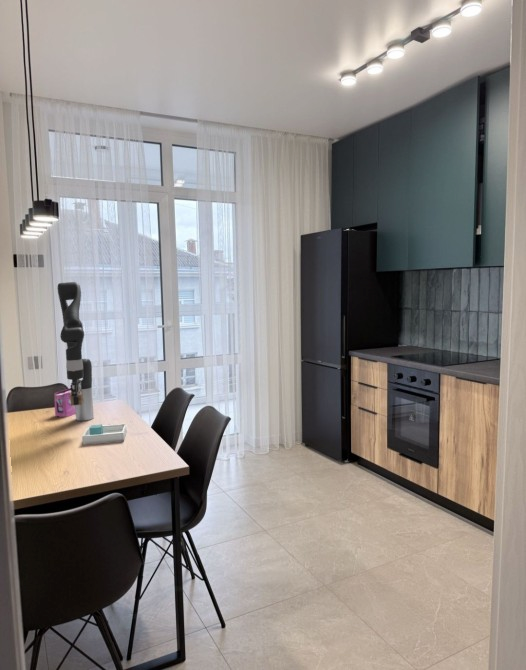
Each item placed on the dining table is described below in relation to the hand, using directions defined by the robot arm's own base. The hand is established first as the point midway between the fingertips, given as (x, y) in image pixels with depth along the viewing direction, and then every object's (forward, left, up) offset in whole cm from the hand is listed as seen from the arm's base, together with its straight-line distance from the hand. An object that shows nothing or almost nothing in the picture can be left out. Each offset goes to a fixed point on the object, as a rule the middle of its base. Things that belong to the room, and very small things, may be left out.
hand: (77, 403), depth 231 cm
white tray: (+12, +14, -15) cm, 24 cm away
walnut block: (0, 0, 0) cm, 0 cm away
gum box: (-48, -12, -16) cm, 52 cm away
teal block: (+12, +10, -14) cm, 21 cm away
